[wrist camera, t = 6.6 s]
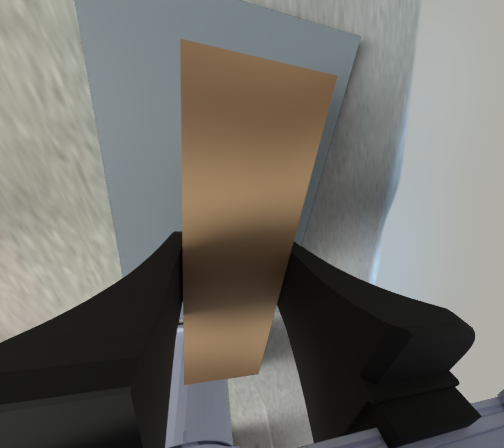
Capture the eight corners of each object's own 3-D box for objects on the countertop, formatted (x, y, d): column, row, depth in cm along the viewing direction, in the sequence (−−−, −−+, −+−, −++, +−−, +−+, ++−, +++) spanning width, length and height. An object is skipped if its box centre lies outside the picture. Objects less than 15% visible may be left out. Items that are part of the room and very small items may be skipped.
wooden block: (243, 303, 16) (258, 374, 12) (189, 307, 15) (183, 385, 11) (278, 93, 10) (337, 75, 6) (191, 76, 9) (179, 38, 5)
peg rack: (278, 302, 22) (291, 333, 19) (134, 311, 19) (120, 351, 16) (348, 43, 13) (397, 18, 9) (80, -34, 9) (15, -112, 6)
